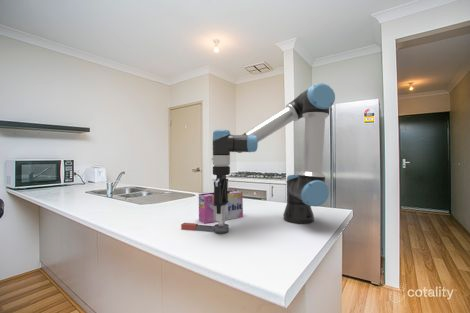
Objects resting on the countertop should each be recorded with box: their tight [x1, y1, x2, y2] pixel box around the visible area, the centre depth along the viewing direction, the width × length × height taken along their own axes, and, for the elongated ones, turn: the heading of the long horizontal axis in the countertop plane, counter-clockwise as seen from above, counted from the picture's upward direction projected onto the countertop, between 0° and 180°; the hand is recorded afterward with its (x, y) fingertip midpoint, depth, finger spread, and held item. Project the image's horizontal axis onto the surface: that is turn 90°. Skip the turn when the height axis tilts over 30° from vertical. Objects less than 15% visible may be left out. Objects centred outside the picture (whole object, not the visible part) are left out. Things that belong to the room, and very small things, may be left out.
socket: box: [214, 203, 228, 222], centre depth 99 cm, size 5×5×7 cm
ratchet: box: [180, 221, 230, 235], centre depth 101 cm, size 22×6×6 cm, turn 76°
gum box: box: [198, 190, 244, 225], centre depth 120 cm, size 24×8×14 cm, turn 123°
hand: (221, 219), depth 99 cm, fingers closed on socket, 5 cm apart
